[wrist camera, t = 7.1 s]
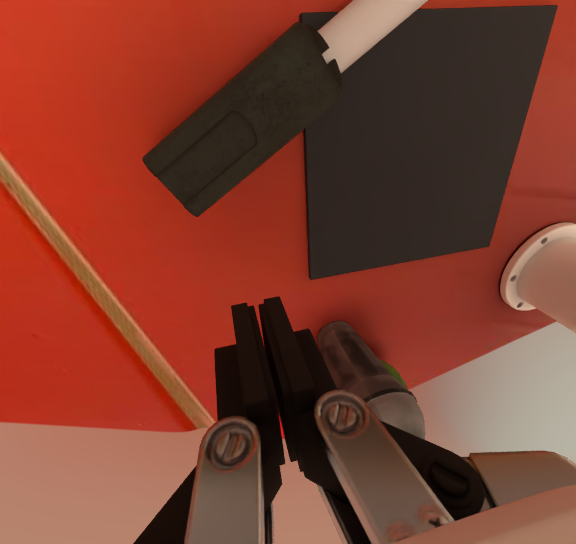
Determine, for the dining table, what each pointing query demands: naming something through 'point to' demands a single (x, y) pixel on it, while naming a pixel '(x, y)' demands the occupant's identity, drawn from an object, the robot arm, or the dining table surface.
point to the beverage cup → (368, 378)
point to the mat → (421, 137)
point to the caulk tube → (268, 103)
